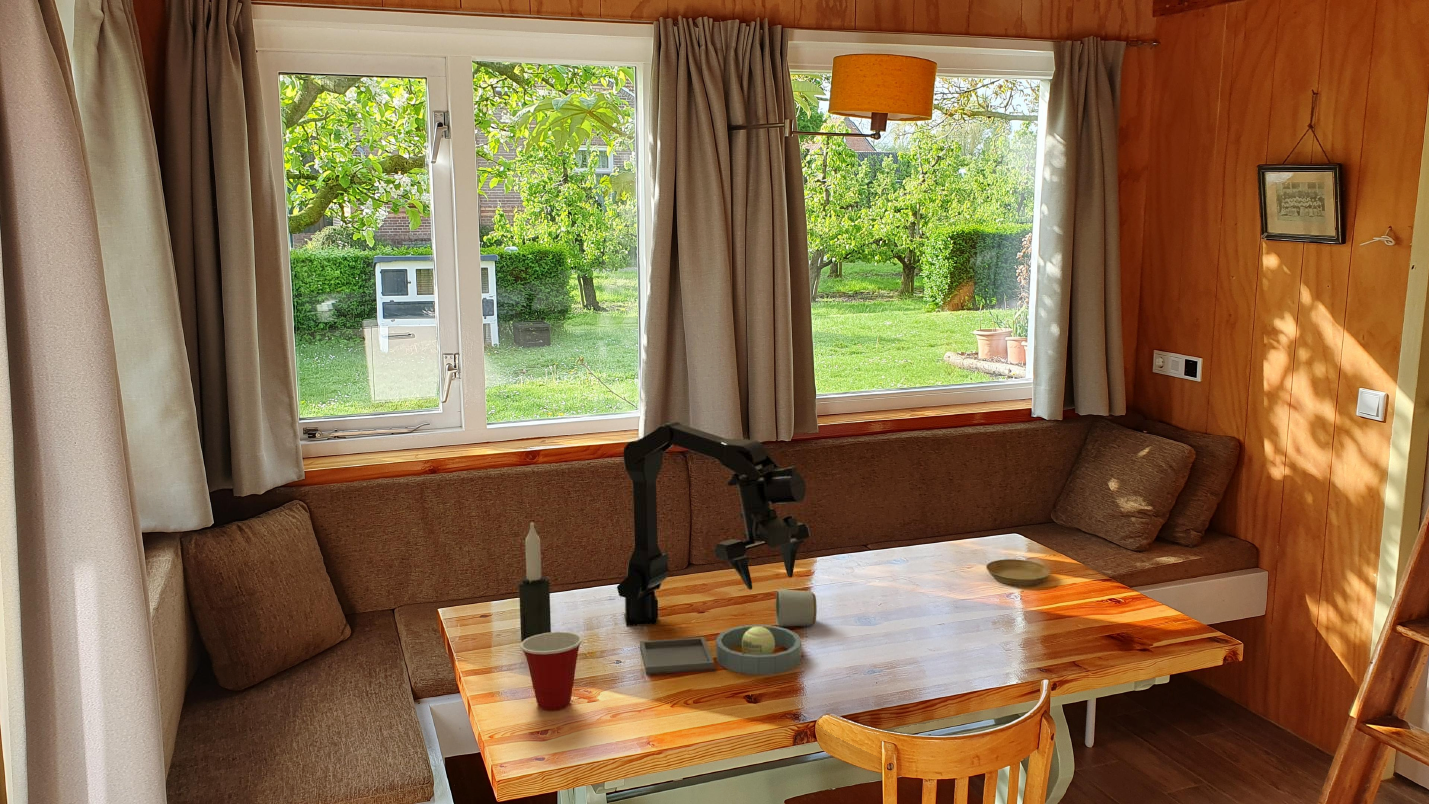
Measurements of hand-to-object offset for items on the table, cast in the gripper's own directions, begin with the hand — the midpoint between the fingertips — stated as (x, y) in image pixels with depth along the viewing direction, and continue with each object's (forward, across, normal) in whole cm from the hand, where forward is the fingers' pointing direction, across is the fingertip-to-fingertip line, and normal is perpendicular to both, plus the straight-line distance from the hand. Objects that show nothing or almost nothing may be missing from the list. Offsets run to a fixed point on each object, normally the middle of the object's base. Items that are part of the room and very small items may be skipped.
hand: (770, 583), depth 215 cm
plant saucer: (+20, +72, +13) cm, 76 cm away
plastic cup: (+10, -47, 0) cm, 48 cm away
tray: (+11, -20, +8) cm, 24 cm away
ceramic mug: (+13, +11, +14) cm, 22 cm away
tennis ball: (+14, -5, +1) cm, 15 cm away
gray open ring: (+14, -5, +1) cm, 15 cm away
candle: (+5, -40, +29) cm, 50 cm away
